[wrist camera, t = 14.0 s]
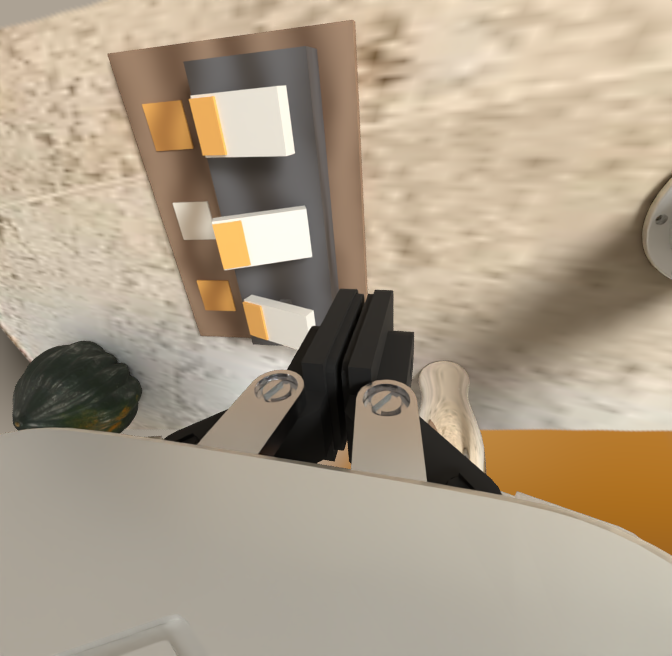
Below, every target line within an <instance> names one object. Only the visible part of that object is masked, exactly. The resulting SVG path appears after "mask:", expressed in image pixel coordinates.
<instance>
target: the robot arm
mask: <svg viewBox="0 0 672 656" xmlns="http://www.w3.org/2000/svg"><path fill="white" fill-rule="evenodd" d="M658 216H659V217H658ZM657 217H658V218H657ZM656 218H657V219H656ZM642 241H643V248H644V251H645V254H646V257H647V258H648V259H649V261H650V262H651V264H652V265H653V266H654V267H655V268H656V269H657V270H658V271H659V272H661V273H662V274H663V275H665V276H666V277H668V278H669V279H671V280H672V178H671V179H670V180H669V181H668V182H667V183H666V185H665V186H664V187H663V188H662V189H661V190H660V192H659V193H658V195H657V196H656V198H655V199H654V201H653V203H652V204H651V206H650V208H649V210H648V213H647V215H646V218H645V221H644V226H643V231H642ZM413 355H414V332H403V331H393V291H392V290H375V291H374V294H368V296H367V299H366V301H365V299H364V294H359V293H358V290H357V289H341V288H340V289H339V291H338V293H337V295H336V297H335V299H334V301H333V303H332V304H331V306H330V308H329V310H328V312H327V314H326V316H325V318H324V320H323V322H322V324H321V325H320V326H312V327H311V328H310V330H309V331H308V333H307V335H306V337H305V339H304V340H303V342H302V344H301V346H300V347H299V349H298V351H297V353H296V355H295V356H294V358H293V360H292V362H291V364H290V365H289V367H288V369H287V370H273V371H270V372H267V373H264V374H263V375H261V376H259V377H257V378H256V379H255V380H254V381H253V382H252V383H251V384H250V385H249V386H248V387H247V389H246V390H245V391H244V392H243V393H242V394H241V395H240V396H239V398H238V399H237V400H236V401H235V402H234V403H233V404H232V406H231V407H230V408H229V409H227V410H225V411H223V412H220V413H218V414H216V415H213V416H211V417H209V418H206V419H204V420H202V421H199V422H197V423H195V424H192V425H190V426H188V427H185V428H183V429H181V430H178V431H176V432H174V433H173V434H171V435H169V436H167V437H166V438H165V439H164V440H163V438H162V436H151V437H140V436H133V435H126V434H119V433H112V432H103V431H94V430H85V429H76V428H37V429H25V430H19V431H14V432H8V433H4V434H0V656H672V556H671V555H670V554H668V553H666V552H664V551H662V550H661V549H659V548H657V547H655V546H654V545H652V544H650V543H648V542H645V541H643V540H641V539H640V538H639V537H637V536H636V535H635V534H633V533H631V532H629V531H627V530H625V529H623V528H621V527H618V526H615V525H612V524H610V523H607V522H604V521H601V520H598V519H595V518H592V517H590V516H586V515H584V514H581V513H578V512H575V511H572V510H569V509H566V508H564V507H560V506H558V505H555V504H552V503H549V502H546V501H543V500H540V499H537V498H535V497H532V496H529V495H526V494H523V493H520V492H517V493H516V496H513V495H510V494H507V493H504V492H501V491H500V490H499V488H498V486H497V485H496V484H495V483H494V482H493V481H492V479H491V478H490V477H488V476H487V475H486V474H485V473H484V472H483V471H482V470H481V469H479V468H478V467H477V466H476V465H475V464H474V463H473V462H471V461H470V460H469V459H468V458H467V457H466V456H464V455H463V454H462V453H461V452H460V451H459V450H458V449H456V448H455V447H454V446H453V445H452V444H451V443H450V442H448V441H447V440H446V439H445V438H444V437H443V436H442V435H440V434H439V433H438V432H437V431H436V430H435V429H434V428H432V427H431V426H430V425H429V424H428V423H427V422H426V421H424V420H423V419H422V418H421V417H420V416H419V412H418V404H417V398H416V395H415V393H414V392H413V390H412V389H411V381H412V370H413ZM346 442H347V443H348V454H349V462H350V463H351V469H346V468H339V467H333V466H327V465H320V464H317V463H318V462H320V461H322V460H329V461H335V458H336V455H337V451H338V450H344V449H345V445H346Z"/></svg>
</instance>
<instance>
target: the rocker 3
mask: <svg viewBox="0 0 672 656" xmlns="http://www.w3.org/2000/svg"><path fill="white" fill-rule="evenodd" d="M242 303H243V307H244V311H245V315H246V319H247V323H248V327H249V331H250V335H252V336H256V337H259V338H262V339H265V340H269V341H272V342H275V343H278V344H281V345H284V346H287V347H290V348H293V349H296V350H298V349H299V347H300V346H301V344H302V342H303V340H304V339H305V337H306V335H307V333H308V331H309V330H310V328H311V327H312V326H316V325H315V318H314V311H313V310H310V309H306V308H302V307H299V306H295V305H291V304H287V303H283V302H279V301H275V300H271V299H267V298H263V297H259V296H255V295H250V296H249V297H247V298H246V299H244V302H242Z"/></svg>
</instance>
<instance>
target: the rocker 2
mask: <svg viewBox="0 0 672 656" xmlns="http://www.w3.org/2000/svg"><path fill="white" fill-rule="evenodd" d="M212 226H213V230H214V234H215V237H216V241H217V245H218V249H219V253H220V257H221V260H222V264H223V268H224V270H231V269H237V268H244V267H250V266H257V265H263V264H270V263H276V262H283V261H289V260H296V259H302V258H309V257H312V250H311V242H310V234H309V226H308V218H307V210H306V207H305V205H304V206H297V207H290V208H282V209H275V210H268V211H261V212H253V213H246V214H239V215H231V216H224V217H217V218H213V220H212Z"/></svg>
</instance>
